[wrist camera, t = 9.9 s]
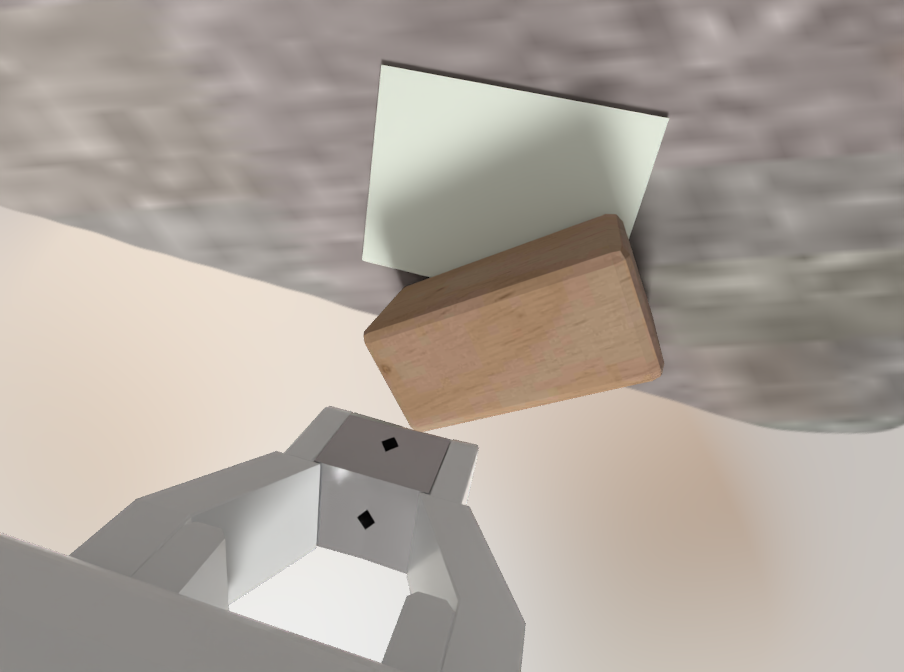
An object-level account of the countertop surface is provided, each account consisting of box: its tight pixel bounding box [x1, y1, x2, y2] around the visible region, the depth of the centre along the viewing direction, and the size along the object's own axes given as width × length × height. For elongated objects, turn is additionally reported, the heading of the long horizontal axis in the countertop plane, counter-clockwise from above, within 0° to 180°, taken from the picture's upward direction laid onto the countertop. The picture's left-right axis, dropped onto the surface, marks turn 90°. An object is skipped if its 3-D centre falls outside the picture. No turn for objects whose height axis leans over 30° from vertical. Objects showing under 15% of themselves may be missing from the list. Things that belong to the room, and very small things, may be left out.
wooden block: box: [364, 214, 664, 432], centre depth 39 cm, size 10×10×20 cm
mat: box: [362, 65, 669, 277], centre depth 40 cm, size 22×16×1 cm
